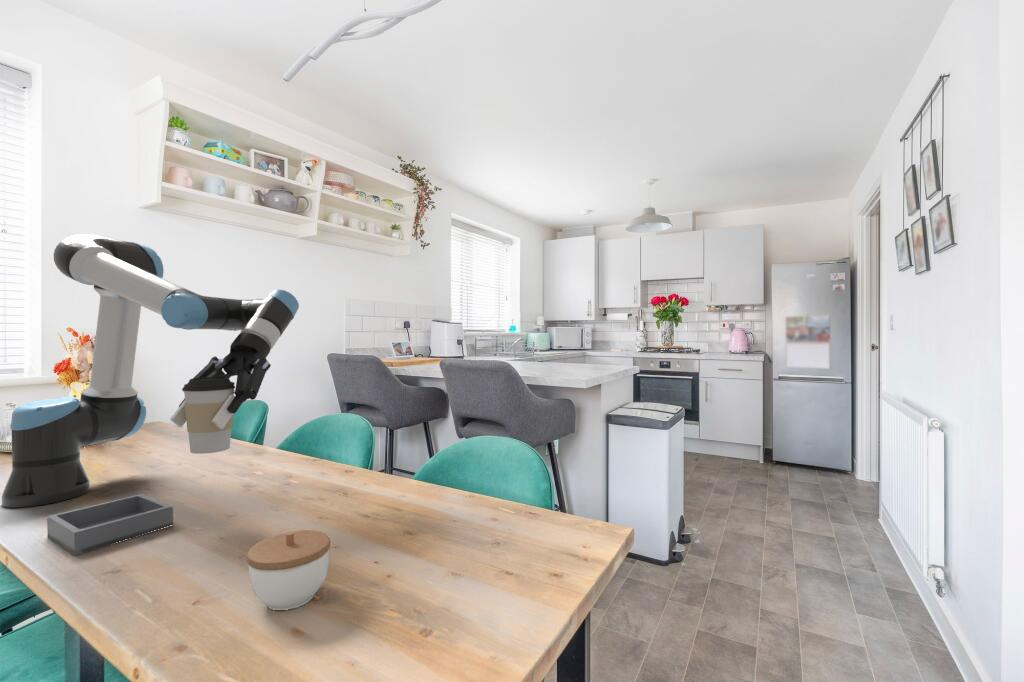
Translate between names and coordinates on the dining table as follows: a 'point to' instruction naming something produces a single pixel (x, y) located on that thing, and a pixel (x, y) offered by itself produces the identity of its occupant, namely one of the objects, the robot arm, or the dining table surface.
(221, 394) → the coffee cup
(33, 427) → the robot arm
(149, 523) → the tray
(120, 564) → the dining table surface
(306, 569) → the lidded jar
